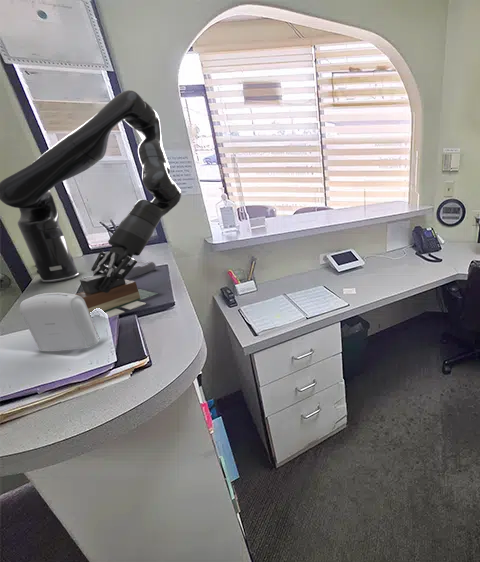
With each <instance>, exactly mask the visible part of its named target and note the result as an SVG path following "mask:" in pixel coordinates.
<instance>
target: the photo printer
mask: <svg viewBox="0 0 480 562" xmlns="http://www.w3.org/2000/svg"><path fill="white" fill-rule="evenodd" d="M74 294H75V293H68V292H45V293H39V294H35V295H32V296H30V297H28V298H26V299H24V300H22V301H21V302H20V304H19V311H20V314H21V315H22V318H23V320H24V322H25V324H26V326H27V328H28V330H29V332H30V333H31V336H32V338H33V341H34V342H35V343H36V346H37V347H38V349H39V351H40V352H57V351H60V352H61V351H72V350H84V349H89V348H90V347H93V346H95V345H97V344H98V343H99V342H100V340H101V337H100V334H99V332H98V330H97V327H96V325H95V322H94V320H93V317H92V318H91V315H90V313H89V310H88V308H87V306H86V303H85V301H84V299H83V298H82V297H80V296H78V295H74ZM98 337H99V338H98Z"/></svg>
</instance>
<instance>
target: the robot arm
mask: <svg viewBox="0 0 480 562" xmlns="http://www.w3.org/2000/svg"><path fill="white" fill-rule="evenodd" d="M122 121H123V122H125V123H126V124H127V125H128V126H129V127H131V128H133V129H134V130H135V131H136V132H137V133H138V135H139V137H140V138H141V142H140V143H139V144H138V147H137V154H138V158H139V162H140V165H141V167H142V169H141V170H142V171H141V180H142V184H143V186H144V187H145V189H146V190H147V191H148V192H149V193H150V194H151V196H153V197H154V198H153V199H152V200H147V199H142V198H141V199H139V200H137V201H136V202H134V204H133V206H132V207H131V209H130V210H129V212H128V213H127V215H126V216H125V217H124V218H123V219H122V220H121V222H120V223H119V224H118V225H117V227H116V229H115V230H114V231H113V233H112V234H111V236H110V237H109V239H108V241H107V243H108V244H109V245H110V246H111V248H110V249H109V250H108V251H107V252H104V251H100V252H99V253H98V255H97V257H96V259H95V261H94V263H93V265H92V267H91V269H90V271H92V273H93V275H92V276H96V275H99V274H103V273H107V272H108V274H107V277H105V279H104V280H103V282H102V283H101V285H100V286H99V288H98V290H99V291H102V292H105V293H108V292H109V291H110V289H111V288H112V286H113V285H114V283H115V282H116V281H118V280H119V279H124V278H125V277H126V276H127V274H128V273H129V272H130V271H131V269H132V268H133V267H134V266H135V264H136V263H137V262H138V260H137V259H135V258H133V256H138V257H139V256H140V255H141V254H142V252H143V251H144V249H145V247H146V246H147V244H148V243H149V241H150V239H151V238H152V236H153V234H154V231H155V230H156V228H157V226H158V225H159V223H160V221H161V220H162V218H163V217H164V216H166V215H167V214H168V213H169V212H171V210H173V209H174V208H175V207H176V206H177V205H178V204H179V203H180V201H181V199H182V190H181V188H180V187H179V186H178V184H177V183H176V182H175V181H174V180H173V179H172V178H171V177H170V174H171V167H170V163H169V161H168V157H167V155H166V152H165V149H164V145H163V139H162V132H161V131H162V129H161V122H160V117H159V115H158V113H157V111H156V110H155V109H154V108H153V106H151V105H150V104H149V103H148V102H147V101H146V100H145V99H144V98H143V97H142V96H141V95H140V94H139V93H137V92H136V91H134V90H130V89H128V90H124V91H122V92H120V93H118V94H117V95H115V96H113V98H112V99H110V101H108V103H107V104H106V105H104V106H103V107H102V108H101V109H100V110H99V111H98V112H97V113H95V115H93V116H92V117H91V118H90V119H88V120H87V121H85V123H83V124H82V125H80V126H79V127H78V128H76V129H75V130H73V131H72V132H70V133H69V134H67V135H65V136H64V137H63V138H62V139H60V140H59V141H58V142H56V143H55V144H53V146H51V147H50V148H49V149H48V150H46V151H45V152H44V153H42V154H41V155H40V156H39V157H38V158H37V159H35V160H34V161H33V162H32V163H30V164H29V165H27V166H25V167H24V168H22V169H20V170H19V171H16V172H14V173H13V174H11V175H9V176H7V177H5V178H4V179H2V180H1V181H0V202H2V203H3V204H4V205H6V206H8V207H11V208H15V209H18V210H19V212H20V216H19V219H18V221H17V226H18V227H17V228H18V229H19V231H20V233H21V235H22V238H23V240H24V242H25V244H26V247H27V249H28V252H29V254H30V256H31V258H32V260H33V263H34V265H35V268H36V269H37V270H36V273H38V275H39V277H40V280H41V282H42V283H57V282H61V281H66V280H71V279H73V278H76V277H78V276H79V275H80V273H79V271H78V269H77V266H76V263H75V261H74V259H73V256H72V253H71V251H70V248H69V245H68V243H67V240H66V237H65V235H64V232H63V230H62V227H61V225H60V221H59V220H60V214H59V211H58V208H57V205H56V202H55V199H54V195H53V193H52V190H51V189H53V188H54V187H56V185H58V184H60V183H62V182H64V181H67V180H69V179H71V178H73V177H75V176H77V175H80V174H81V173H84V172H85V171H87V170H89V169H90V168H92V167H93V166H94V165H96V164H97V163H98V162H100V161H101V160H102V159H104V157H105V155H106V154H107V150H108V144H109V139H110V135H111V133H112V131H113V129H115V127H116V126H117V125H118V124H119V123H121V122H122ZM122 273H123V274H122ZM124 280H125V279H124Z"/></svg>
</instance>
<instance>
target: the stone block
mask: <svg viewBox="0 0 480 562" xmlns="http://www.w3.org/2000/svg"><path fill="white" fill-rule="evenodd" d="M156 268H157V265H156V263H155V262H154V261H148V260H137V263H136V264H135V266H134V267H133V268H132V269H131V271H130V272H129V273H128V274H127V276H126V277H125V278H124V280H125V279H126V280H130V279H133V278H136V277H138V276H141V275H144V274H147V273H149V272H154V271H156V270H157V269H156ZM122 274H123V273H122Z"/></svg>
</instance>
